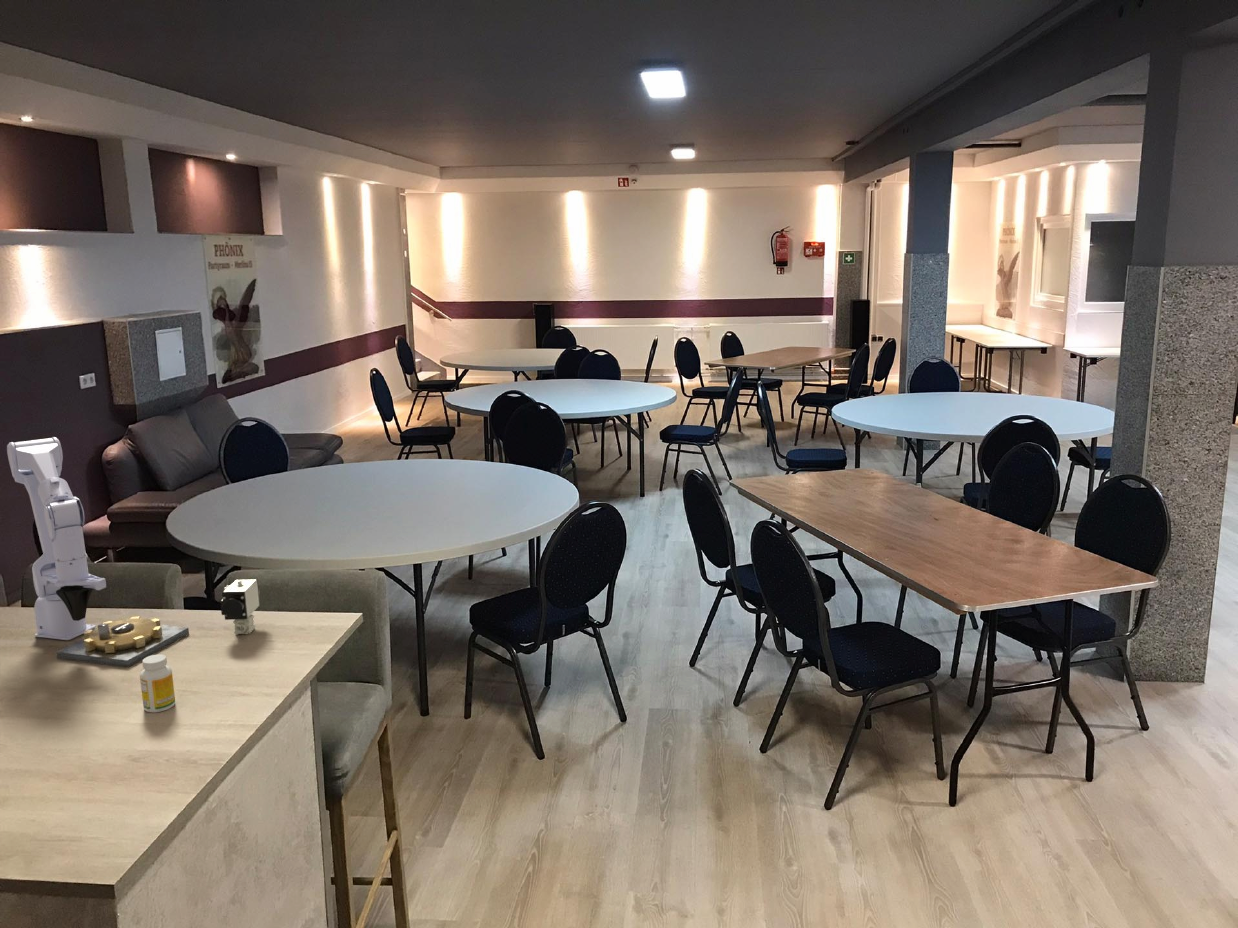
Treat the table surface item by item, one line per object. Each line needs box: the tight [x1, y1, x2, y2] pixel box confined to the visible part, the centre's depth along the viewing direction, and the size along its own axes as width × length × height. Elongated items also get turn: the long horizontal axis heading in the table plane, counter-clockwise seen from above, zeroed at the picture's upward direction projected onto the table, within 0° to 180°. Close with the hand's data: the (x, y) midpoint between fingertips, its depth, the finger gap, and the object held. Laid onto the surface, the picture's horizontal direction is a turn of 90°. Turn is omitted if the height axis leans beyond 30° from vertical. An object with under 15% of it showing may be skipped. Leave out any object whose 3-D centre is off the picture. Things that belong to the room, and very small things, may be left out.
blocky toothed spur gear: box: [83, 616, 162, 653], centre depth 207 cm, size 15×15×5 cm
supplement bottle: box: [139, 653, 176, 713], centre depth 178 cm, size 5×5×10 cm
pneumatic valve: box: [219, 578, 261, 636], centre depth 213 cm, size 6×12×12 cm, turn 2°
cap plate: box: [55, 624, 190, 668], centre depth 207 cm, size 18×18×2 cm
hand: (79, 618), depth 203 cm, fingers closed
